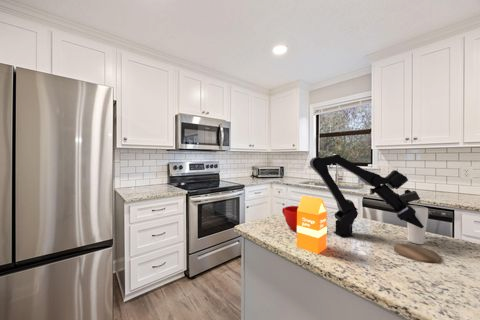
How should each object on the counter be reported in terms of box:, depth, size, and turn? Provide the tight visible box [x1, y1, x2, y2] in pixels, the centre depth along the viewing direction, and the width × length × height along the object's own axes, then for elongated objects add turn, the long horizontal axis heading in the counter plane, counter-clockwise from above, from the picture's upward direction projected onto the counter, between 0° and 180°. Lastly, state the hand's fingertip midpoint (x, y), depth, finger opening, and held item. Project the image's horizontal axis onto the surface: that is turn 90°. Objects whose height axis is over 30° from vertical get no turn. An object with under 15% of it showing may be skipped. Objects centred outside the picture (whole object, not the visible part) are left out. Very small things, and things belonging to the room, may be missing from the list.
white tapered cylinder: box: [406, 204, 429, 245], centre depth 87 cm, size 7×7×15 cm
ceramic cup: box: [281, 205, 299, 232], centre depth 104 cm, size 13×17×10 cm
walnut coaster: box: [393, 243, 441, 264], centre depth 76 cm, size 13×13×1 cm
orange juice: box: [296, 195, 328, 255], centre depth 81 cm, size 8×9×20 cm
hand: (421, 225), depth 86 cm, fingers closed on white tapered cylinder, 7 cm apart
